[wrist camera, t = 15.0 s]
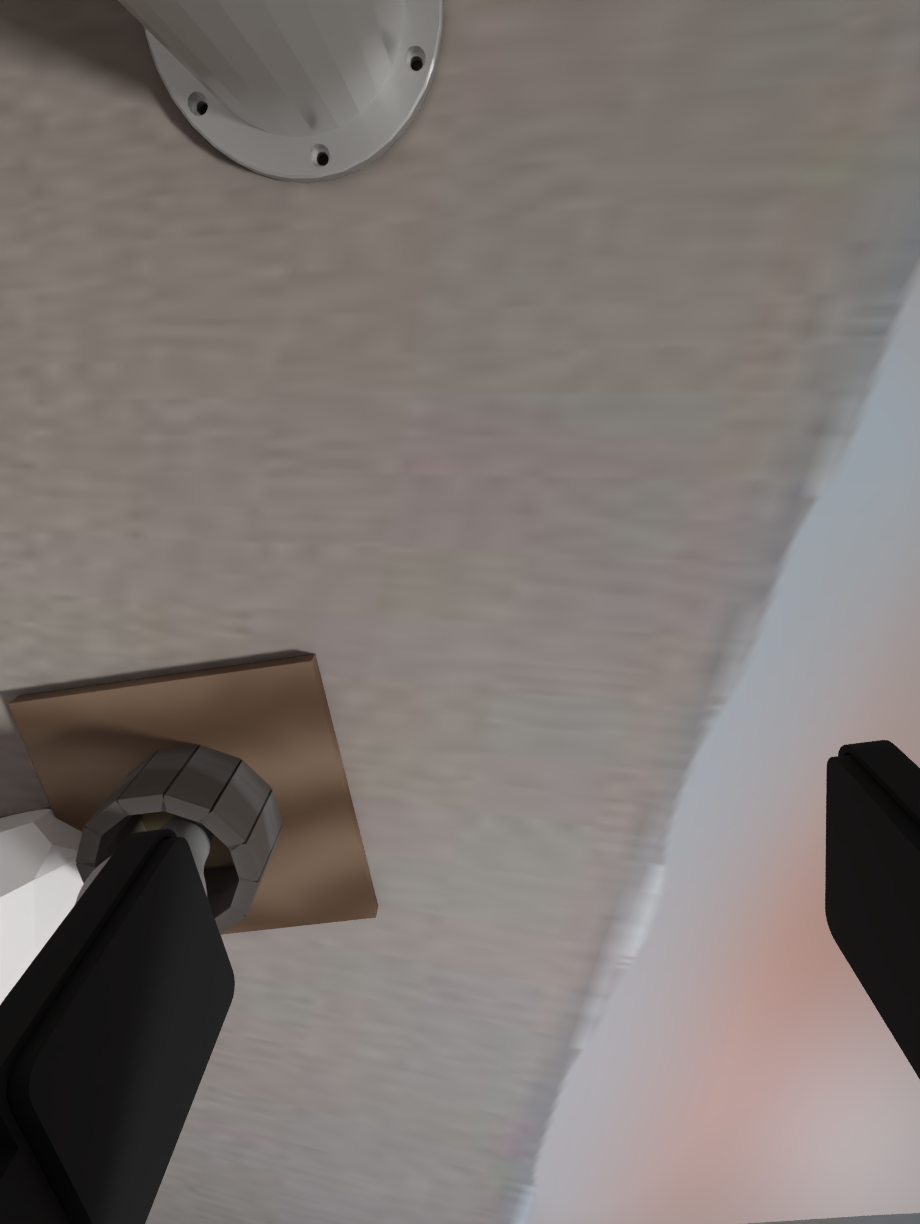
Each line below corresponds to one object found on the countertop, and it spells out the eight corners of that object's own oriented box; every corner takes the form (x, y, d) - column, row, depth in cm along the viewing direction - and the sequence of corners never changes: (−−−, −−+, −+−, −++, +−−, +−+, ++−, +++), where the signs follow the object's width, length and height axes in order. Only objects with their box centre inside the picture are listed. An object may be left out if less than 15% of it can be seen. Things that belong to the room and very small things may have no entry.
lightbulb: (202, 871, 44) (116, 1027, 34) (130, 805, 42) (17, 947, 32) (272, 821, 43) (206, 967, 32) (201, 750, 41) (107, 880, 31)
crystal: (109, 1131, 49) (118, 850, 41) (-16, 1173, 45) (-33, 874, 37) (102, 1038, 55) (109, 777, 47) (-9, 1069, 51) (-22, 791, 43)
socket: (18, 696, 42) (-55, 748, 36) (315, 654, 40) (288, 702, 34) (116, 935, 47) (66, 1012, 42) (378, 905, 46) (363, 982, 40)
